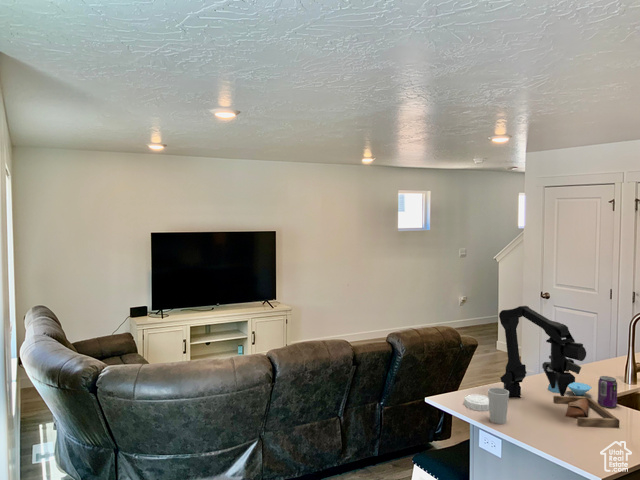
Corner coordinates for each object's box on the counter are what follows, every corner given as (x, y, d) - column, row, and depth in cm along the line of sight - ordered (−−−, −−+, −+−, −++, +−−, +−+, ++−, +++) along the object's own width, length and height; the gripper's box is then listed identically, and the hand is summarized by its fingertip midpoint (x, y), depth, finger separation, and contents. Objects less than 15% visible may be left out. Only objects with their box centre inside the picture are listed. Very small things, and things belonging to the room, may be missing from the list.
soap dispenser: (592, 394, 219) (593, 375, 219) (589, 401, 211) (590, 381, 211) (550, 386, 230) (551, 367, 230) (545, 392, 222) (546, 373, 222)
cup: (508, 418, 192) (508, 388, 192) (509, 425, 185) (509, 395, 184) (487, 415, 195) (487, 386, 194) (487, 423, 187) (488, 393, 187)
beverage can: (619, 409, 202) (620, 381, 201) (601, 407, 203) (602, 380, 203) (612, 403, 208) (613, 376, 208) (595, 401, 210) (595, 375, 210)
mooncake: (475, 399, 213) (475, 391, 213) (499, 407, 204) (499, 399, 204) (458, 405, 206) (458, 397, 206) (482, 414, 197) (482, 405, 196)
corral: (578, 426, 184) (579, 418, 184) (553, 402, 209) (553, 395, 209) (619, 427, 183) (619, 420, 183) (588, 403, 208) (588, 396, 208)
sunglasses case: (566, 402, 209) (575, 390, 207) (582, 413, 206) (591, 401, 204) (564, 416, 194) (573, 404, 192) (580, 428, 191) (590, 416, 189)
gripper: (589, 361, 186) (588, 401, 187) (568, 349, 205) (568, 385, 205) (559, 361, 187) (559, 400, 188) (542, 348, 206) (541, 384, 206)
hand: (557, 392), depth 197 cm, fingers open, 9 cm apart
